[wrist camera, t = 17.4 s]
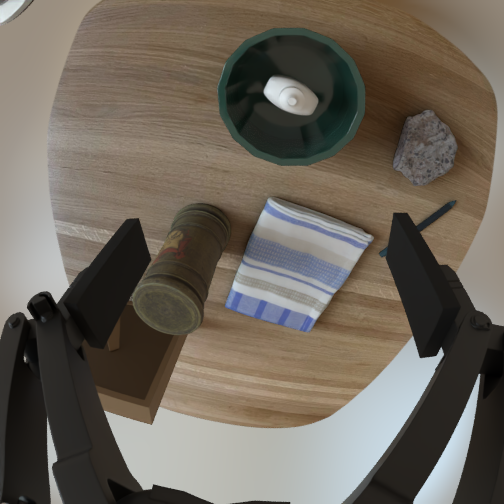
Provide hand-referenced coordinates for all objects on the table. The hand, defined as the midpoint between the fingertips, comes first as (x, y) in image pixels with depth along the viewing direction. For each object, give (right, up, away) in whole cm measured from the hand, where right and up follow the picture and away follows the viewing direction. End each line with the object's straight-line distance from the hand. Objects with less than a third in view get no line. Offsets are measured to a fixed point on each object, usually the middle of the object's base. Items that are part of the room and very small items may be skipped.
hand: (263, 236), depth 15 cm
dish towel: (+6, -3, +35) cm, 36 cm away
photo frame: (-23, -8, +42) cm, 49 cm away
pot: (+4, +19, +19) cm, 27 cm away
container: (-8, +3, +32) cm, 33 cm away
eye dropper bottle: (+4, +19, +19) cm, 27 cm away
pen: (+25, +3, +28) cm, 38 cm away
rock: (+23, +14, +21) cm, 34 cm away
